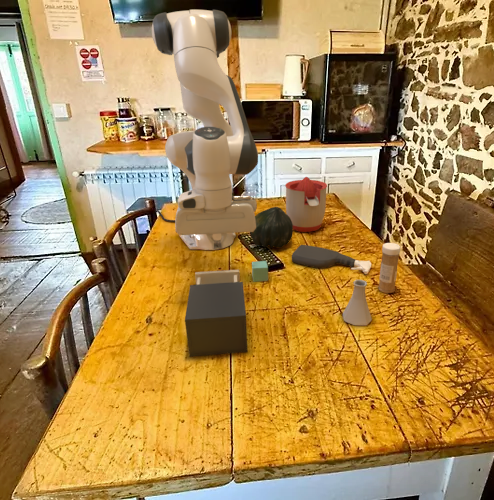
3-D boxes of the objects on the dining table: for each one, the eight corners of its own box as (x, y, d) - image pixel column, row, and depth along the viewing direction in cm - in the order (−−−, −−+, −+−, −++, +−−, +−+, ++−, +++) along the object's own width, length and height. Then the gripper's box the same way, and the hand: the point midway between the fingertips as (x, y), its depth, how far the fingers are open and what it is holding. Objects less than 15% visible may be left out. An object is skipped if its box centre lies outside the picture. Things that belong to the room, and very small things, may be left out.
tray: (198, 289, 110) (196, 264, 106) (239, 287, 111) (238, 262, 108) (194, 327, 94) (191, 299, 90) (242, 324, 95) (241, 296, 91)
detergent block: (252, 274, 119) (251, 261, 117) (266, 273, 120) (266, 260, 118) (253, 281, 115) (252, 268, 113) (268, 280, 116) (267, 267, 114)
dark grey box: (193, 318, 99) (190, 284, 95) (244, 314, 100) (242, 281, 96) (189, 356, 85) (184, 319, 81) (247, 352, 87) (245, 315, 83)
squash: (246, 222, 145) (250, 200, 131) (285, 220, 148) (294, 199, 134) (250, 257, 139) (256, 238, 126) (291, 254, 142) (301, 236, 129)
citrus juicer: (293, 238, 144) (293, 185, 136) (280, 222, 160) (280, 173, 151) (333, 234, 148) (336, 181, 139) (317, 218, 163) (319, 170, 155)
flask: (369, 329, 94) (373, 292, 89) (339, 323, 96) (342, 287, 92) (373, 313, 100) (377, 278, 96) (345, 307, 102) (347, 273, 98)
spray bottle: (301, 250, 134) (373, 264, 125) (288, 263, 125) (366, 279, 116) (301, 242, 133) (374, 256, 124) (289, 255, 124) (367, 270, 115)
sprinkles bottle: (398, 290, 109) (404, 246, 104) (386, 295, 107) (392, 250, 102) (385, 283, 113) (390, 240, 107) (374, 288, 111) (379, 244, 105)
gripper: (255, 191, 101) (256, 240, 107) (174, 194, 99) (180, 244, 105) (257, 199, 95) (258, 250, 101) (171, 202, 93) (177, 255, 99)
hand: (217, 247), depth 103 cm, fingers closed
